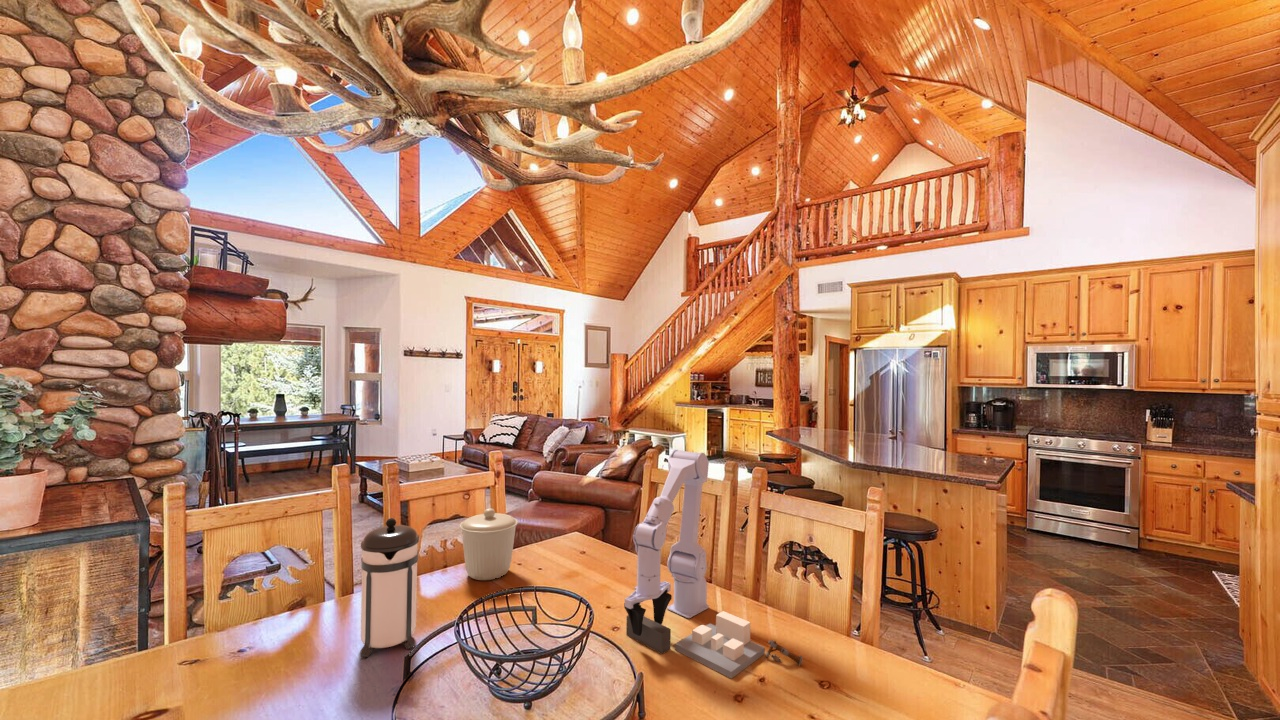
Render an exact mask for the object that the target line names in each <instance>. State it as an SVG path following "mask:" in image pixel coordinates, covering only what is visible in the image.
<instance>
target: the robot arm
mask: <svg viewBox="0 0 1280 720" xmlns="http://www.w3.org/2000/svg"><path fill="white" fill-rule="evenodd" d="M709 462H710V461H709V459H708V457H707V455H706V453H705V452H696V451H695V452H694V451H686V450H678V449H673V450H672V451H671V453H670V455H669V457H668V460H667V466H668V475H667V477H666V480H665V482H664V485H663V486H662V487H663V488H662V490H661V493H660V496H657V497H655V498H654V499H653V501H652V502H651V505H650V507H649V509H648V511H647V513H646V515H645V518H644V519H643V521H642V522H639V523H637V525H636V526H635V528H634V531H633V535H632V541H633V543H634V547H635V548H634V549H635V551H634V552H636V554H637V562H636V563H637V564H636V566H637V567H636V569H637V571H636V572H637V573H636V574H637V575H636V586H634V591H633V592H632V593H631V594H629V595H628V596H627V597H625V598H624V603H623V605H624V606H623V608H624V609H625V612H626V614H627V616H628V615H629V618H630V621H631V625H632V629H633V633H634V634H636V635H638V636H640V635H641V633H642V622H643V617H645V613H646V611H647V609H646V608H643V607H642V605H641V603H643V602H645V601H649V600H650V601H651V600H652V609H653V621H655V622H657V623H659V624H661V625H663V622H664V618H665V614H666V611H667V610H669V611H671V612H673V613H675V614H677V615H679V616H682V617H684V618H686V619H690V618H692V617H694V616H697V615H699V613H702V612H704V611H705V610H707V609H709V608H710V605H708V602H707V601H708V600H707V599H708V583H707V579H706V577H705V575H706V572H707V566H708V564H707V563H708V562H707V551H706V550H705V549H704V548H703V546H702V545H701V544H699V542H698V537H699V527H700V519H701V518H700V517H701V516H700V515H701V504H702V493H703V483H706V482H707V481H708V475H709V466H710V465H709ZM683 485H684V490H683V491H684V492H683V500H682V510H681V521H680V531H679V540H678V541H677V542H675V543H674V544H672V545H671V547H670V552H669V556H668V558H667V562H666V563H667V569H668V572H669V573H670V574H671V577H672V578H673V596H672V594H671V593H670V592H671V586H672V583H670V582H668V581H666V580H664V581H661V563H662V562H661V557H662V556H661V554H662V553H661V552H662V548H663V546H664V544H665V543H666V537H667V532H668V528H667V526H668V524H669V521H670V519H671V517H672V515H673V513H674V510H675V506H674V504H673V502H674V500H676V499H675V498H676V497H677V495H678V494H679V492H680V490H681V488H682V486H683ZM672 599H673V603H672V604H670V602H671V601H672ZM669 604H670V605H669Z"/></svg>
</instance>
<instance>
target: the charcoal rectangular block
mask: <svg viewBox="0 0 1280 720" xmlns="http://www.w3.org/2000/svg"><path fill="white" fill-rule="evenodd" d="M625 628H626V630H625V631H626V632H625V633H626V636H627V637H629V638H631V639H633V640H634V641H636V642H638V643H640V644H642V645H644V646H646V647H648V648H650V649H652V650H653V651H655V652H658V653H659V654H660V655H664V654H665V653H667V652H668V651H671V638H672V635H671V630H672V629H671V628H669V627H667V626H665V625H663V624H659V623H657V622H655V621H654V619H652V618H651V619H650V618H648V617H646V616H644V617H643V622H642V633H641V635H640V636H638V635H636V634H634V633H633V629H632V625H631V621H630V618H629V615H628V614H627V615H626V627H625Z"/></svg>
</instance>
